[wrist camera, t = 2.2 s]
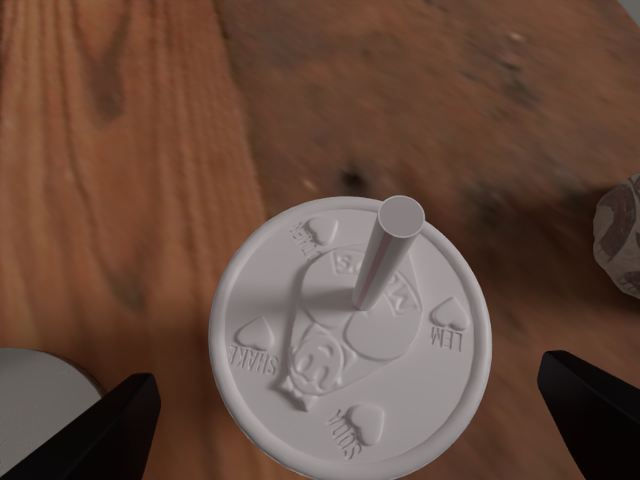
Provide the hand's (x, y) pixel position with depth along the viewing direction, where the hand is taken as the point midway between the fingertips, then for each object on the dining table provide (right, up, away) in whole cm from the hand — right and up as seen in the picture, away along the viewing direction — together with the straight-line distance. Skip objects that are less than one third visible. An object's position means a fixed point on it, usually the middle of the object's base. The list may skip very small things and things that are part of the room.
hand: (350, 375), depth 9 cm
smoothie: (0, -2, +9) cm, 9 cm away
